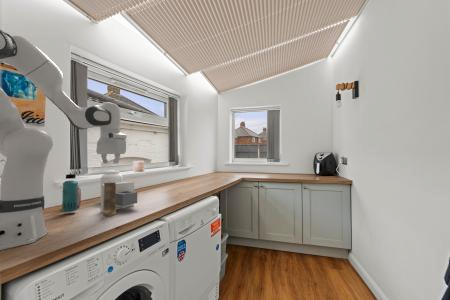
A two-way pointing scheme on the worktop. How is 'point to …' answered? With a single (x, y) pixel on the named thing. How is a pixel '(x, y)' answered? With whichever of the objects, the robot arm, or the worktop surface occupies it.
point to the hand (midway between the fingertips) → (110, 163)
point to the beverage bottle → (70, 194)
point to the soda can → (79, 197)
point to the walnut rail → (109, 198)
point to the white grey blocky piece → (122, 195)
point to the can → (111, 177)
